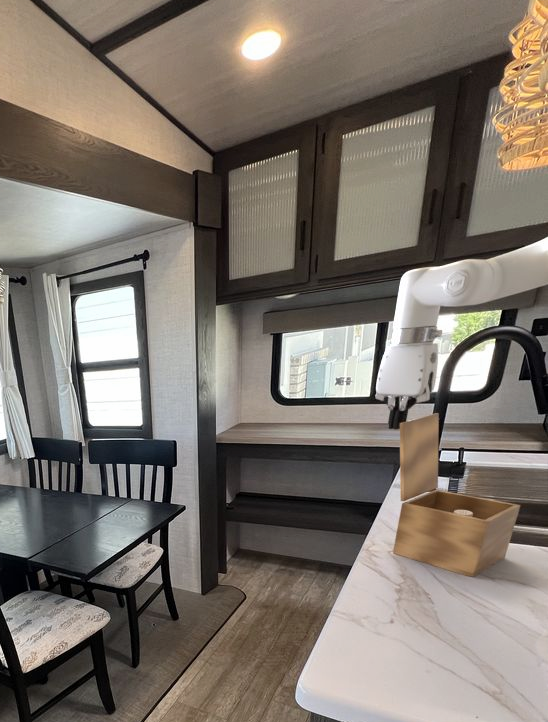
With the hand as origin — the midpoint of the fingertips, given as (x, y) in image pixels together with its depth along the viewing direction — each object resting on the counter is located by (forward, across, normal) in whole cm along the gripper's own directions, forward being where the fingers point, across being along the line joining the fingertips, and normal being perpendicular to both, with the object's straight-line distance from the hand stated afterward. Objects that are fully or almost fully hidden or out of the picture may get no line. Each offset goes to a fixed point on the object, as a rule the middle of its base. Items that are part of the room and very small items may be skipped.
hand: (395, 428), depth 103 cm
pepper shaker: (+25, -16, 0) cm, 30 cm away
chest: (+26, -16, 0) cm, 30 cm away
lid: (+5, -6, 0) cm, 8 cm away
